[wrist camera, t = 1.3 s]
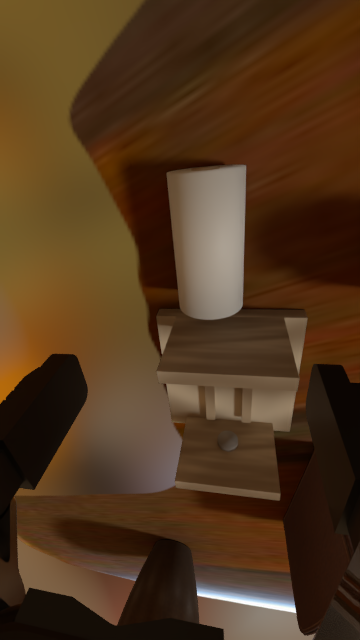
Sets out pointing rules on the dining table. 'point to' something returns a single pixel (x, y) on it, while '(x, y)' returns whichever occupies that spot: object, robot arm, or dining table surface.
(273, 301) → the dining table surface
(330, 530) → the letter holder
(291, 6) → the dining table surface
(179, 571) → the plant pot
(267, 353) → the roll holder
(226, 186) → the paper roll
